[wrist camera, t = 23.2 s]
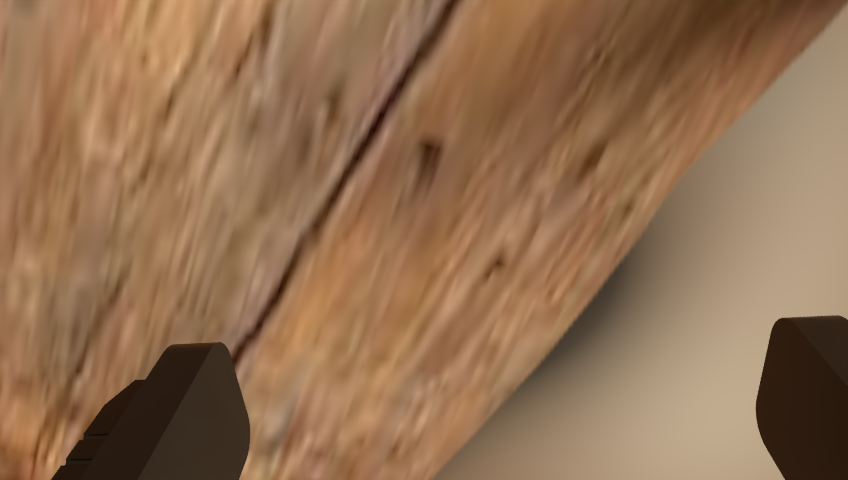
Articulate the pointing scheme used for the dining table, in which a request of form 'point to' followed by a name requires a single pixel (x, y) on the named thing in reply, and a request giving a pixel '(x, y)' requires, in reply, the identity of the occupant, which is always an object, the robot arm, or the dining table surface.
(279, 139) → the dining table surface
